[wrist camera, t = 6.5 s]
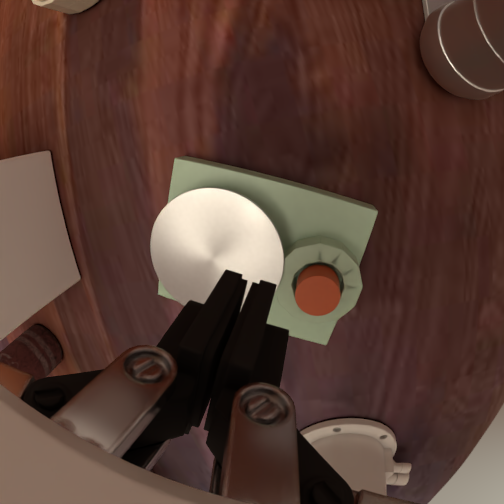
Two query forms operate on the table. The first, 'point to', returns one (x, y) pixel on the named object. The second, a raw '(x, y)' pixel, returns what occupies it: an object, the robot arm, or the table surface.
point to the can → (33, 352)
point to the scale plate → (214, 243)
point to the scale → (294, 236)
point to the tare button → (317, 290)
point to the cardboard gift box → (31, 240)
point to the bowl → (66, 5)
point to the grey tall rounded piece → (466, 47)
